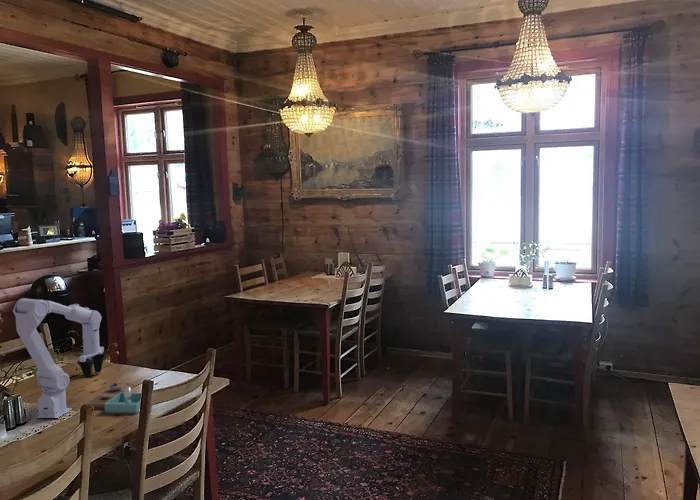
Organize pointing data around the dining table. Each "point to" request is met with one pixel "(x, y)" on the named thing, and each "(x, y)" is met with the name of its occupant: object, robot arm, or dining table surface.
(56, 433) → the dining table surface
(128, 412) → the tray
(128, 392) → the lock pin
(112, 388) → the tensioner bracket
